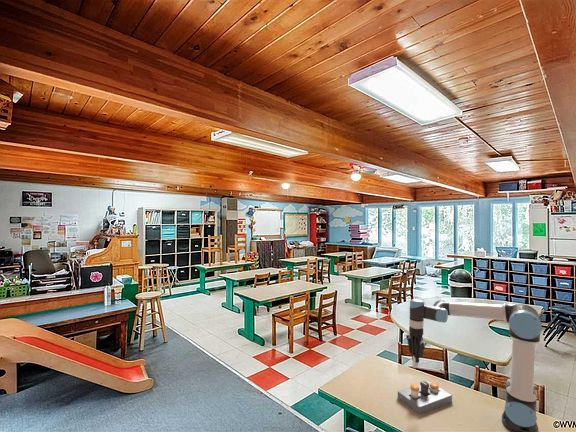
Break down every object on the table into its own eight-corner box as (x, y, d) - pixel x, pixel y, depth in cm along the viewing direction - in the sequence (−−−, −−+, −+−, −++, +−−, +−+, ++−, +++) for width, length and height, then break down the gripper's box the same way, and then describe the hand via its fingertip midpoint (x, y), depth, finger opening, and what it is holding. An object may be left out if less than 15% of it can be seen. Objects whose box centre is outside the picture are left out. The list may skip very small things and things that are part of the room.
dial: (430, 395, 177) (431, 384, 177) (425, 398, 175) (425, 386, 175) (424, 391, 181) (424, 380, 181) (418, 393, 179) (418, 382, 179)
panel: (451, 401, 176) (452, 395, 176) (419, 414, 166) (419, 407, 165) (428, 387, 191) (428, 380, 191) (397, 397, 180) (397, 391, 180)
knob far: (440, 397, 180) (440, 386, 180) (434, 399, 178) (434, 388, 178) (433, 392, 185) (433, 382, 185) (427, 394, 183) (428, 383, 183)
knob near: (421, 399, 174) (421, 388, 174) (414, 401, 172) (415, 390, 172) (414, 394, 178) (414, 383, 178) (408, 396, 176) (408, 385, 176)
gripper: (430, 329, 170) (429, 371, 171) (412, 321, 182) (411, 360, 183) (420, 332, 167) (419, 374, 168) (402, 323, 179) (401, 363, 180)
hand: (415, 367), depth 175 cm, fingers closed
